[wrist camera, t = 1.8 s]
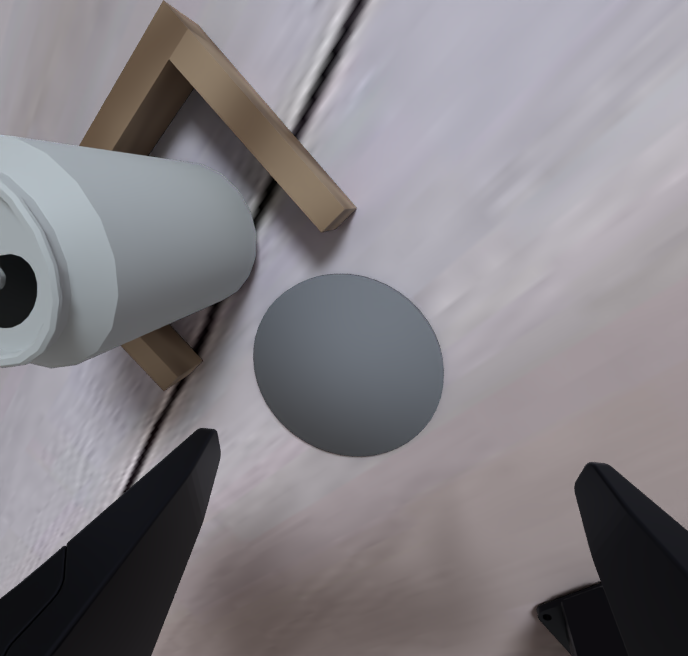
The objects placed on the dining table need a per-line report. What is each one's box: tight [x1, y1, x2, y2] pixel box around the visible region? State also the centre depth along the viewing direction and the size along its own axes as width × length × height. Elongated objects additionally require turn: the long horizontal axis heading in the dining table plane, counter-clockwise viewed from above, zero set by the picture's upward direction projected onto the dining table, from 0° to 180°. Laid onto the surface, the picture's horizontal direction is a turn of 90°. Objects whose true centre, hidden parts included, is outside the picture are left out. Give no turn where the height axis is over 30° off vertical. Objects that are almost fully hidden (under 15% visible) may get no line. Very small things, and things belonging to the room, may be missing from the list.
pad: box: [253, 274, 444, 456], centre depth 22 cm, size 11×11×1 cm
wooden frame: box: [79, 1, 356, 391], centre depth 21 cm, size 12×15×2 cm
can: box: [0, 135, 256, 368], centre depth 17 cm, size 8×8×12 cm
